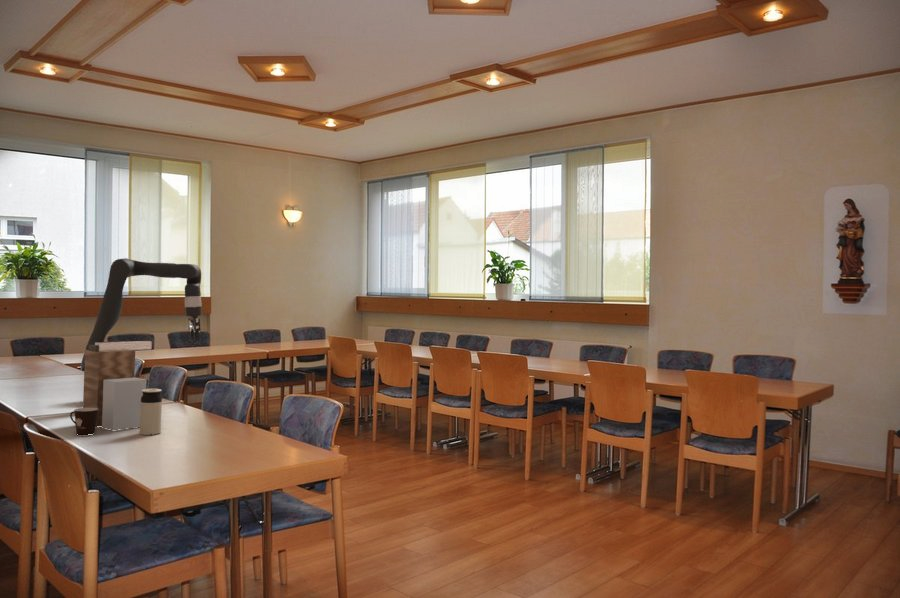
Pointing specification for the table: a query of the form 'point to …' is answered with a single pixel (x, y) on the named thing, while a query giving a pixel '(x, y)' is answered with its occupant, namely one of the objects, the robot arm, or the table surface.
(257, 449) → the table surface
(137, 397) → the grey block
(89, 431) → the coffee mug
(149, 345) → the light wooden bar
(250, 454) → the table surface
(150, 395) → the travel mug
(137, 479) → the table surface
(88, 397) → the walnut stand
